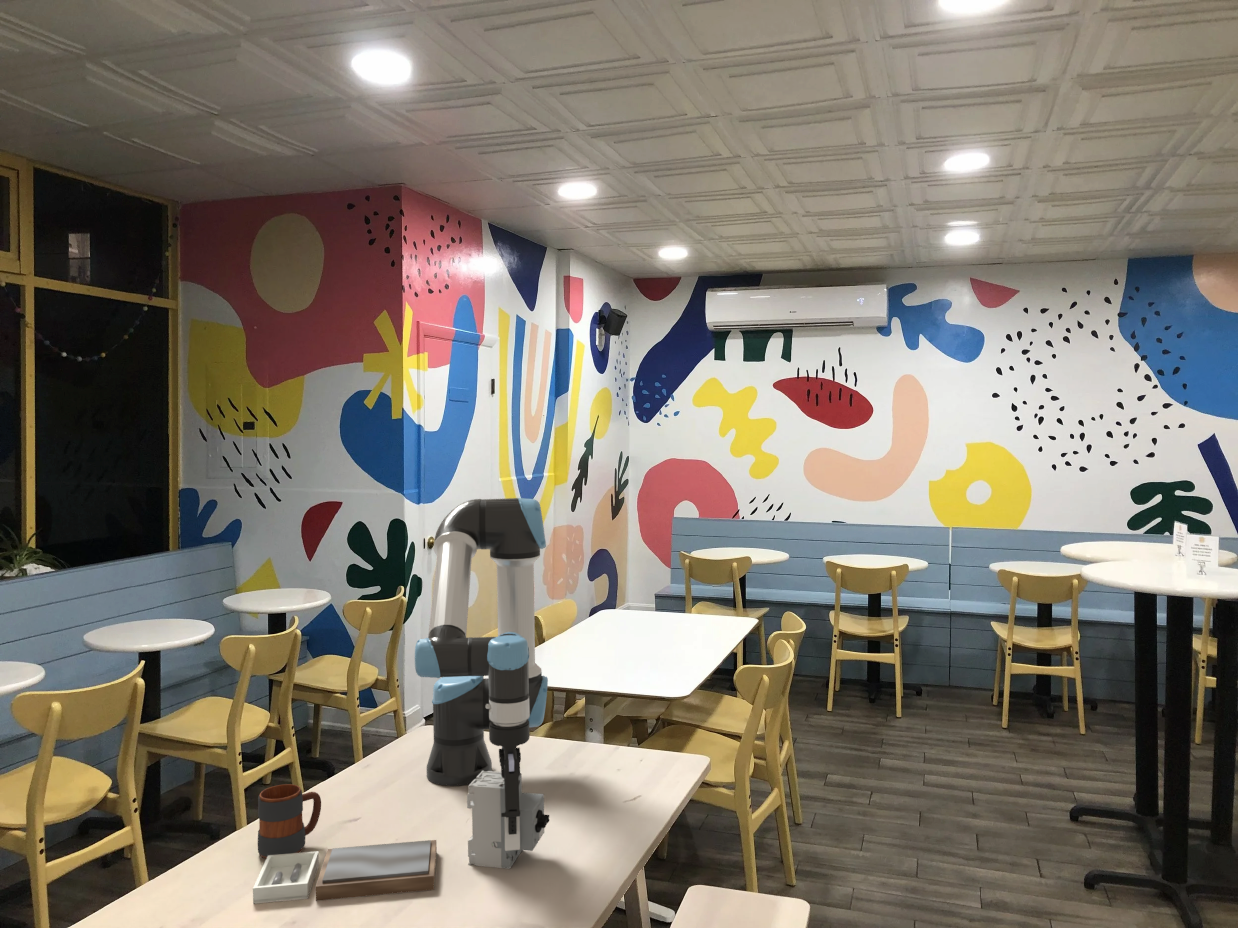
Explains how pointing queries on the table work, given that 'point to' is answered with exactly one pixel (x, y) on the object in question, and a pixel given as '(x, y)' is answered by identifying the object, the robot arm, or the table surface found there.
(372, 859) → the framed panel
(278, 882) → the tray
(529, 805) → the circuit breaker
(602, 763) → the table surface
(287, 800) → the mug
